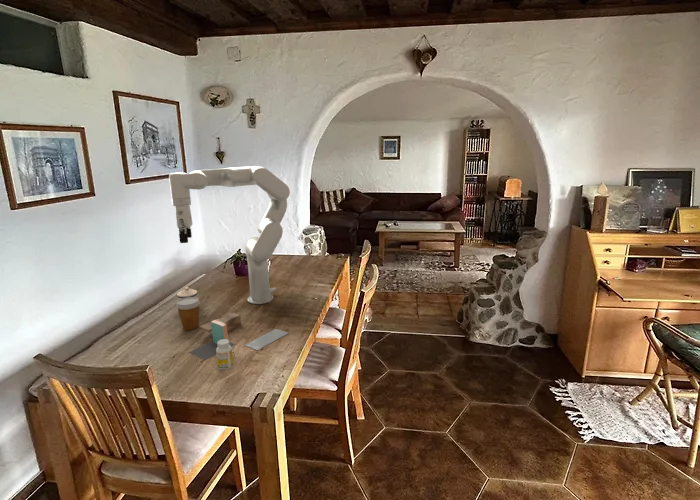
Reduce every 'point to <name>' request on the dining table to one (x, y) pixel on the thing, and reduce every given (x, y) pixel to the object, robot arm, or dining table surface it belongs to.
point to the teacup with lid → (187, 293)
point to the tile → (219, 331)
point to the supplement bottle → (224, 354)
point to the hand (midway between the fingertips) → (186, 240)
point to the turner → (225, 322)
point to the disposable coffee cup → (189, 312)
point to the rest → (266, 339)
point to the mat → (206, 350)
